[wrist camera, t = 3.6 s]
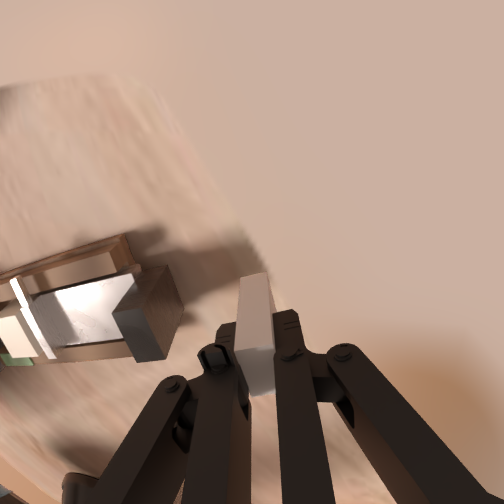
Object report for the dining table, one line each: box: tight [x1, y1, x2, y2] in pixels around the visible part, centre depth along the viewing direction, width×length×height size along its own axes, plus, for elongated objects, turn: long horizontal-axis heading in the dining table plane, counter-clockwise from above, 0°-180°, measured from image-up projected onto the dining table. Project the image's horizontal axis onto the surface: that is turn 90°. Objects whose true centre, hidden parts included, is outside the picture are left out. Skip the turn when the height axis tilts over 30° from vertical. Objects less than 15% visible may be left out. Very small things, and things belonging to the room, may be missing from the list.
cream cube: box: [0, 293, 43, 358], centre depth 22 cm, size 4×4×4 cm
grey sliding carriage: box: [10, 263, 184, 363], centre depth 19 cm, size 12×7×6 cm, turn 104°
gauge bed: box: [0, 234, 135, 372], centre depth 22 cm, size 22×9×6 cm, turn 104°
